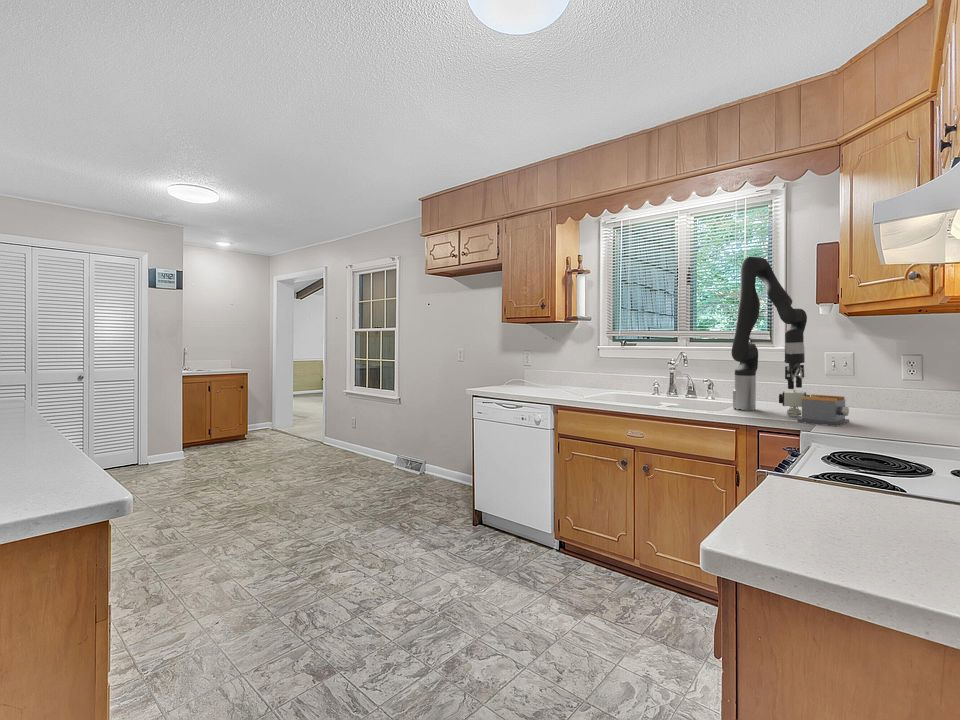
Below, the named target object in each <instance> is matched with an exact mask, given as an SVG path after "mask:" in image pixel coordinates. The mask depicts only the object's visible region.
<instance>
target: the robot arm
mask: <svg viewBox="0 0 960 720" xmlns="http://www.w3.org/2000/svg"><path fill="white" fill-rule="evenodd" d="M757 278H758V279H759V280H760V281H761V282H763V285H764V286H765V290H766V295H767V297H768V299H769V300H770V302H771V303H772V304H773V305H774V307H775V309H776V311H777V314H778V316H779V318H780V320H781V321H782V322H783V323H784V324H786V325H790V328H789V329H788V330H786V331H785V332H784V363H785V364H788V365H785V366H784V368H785V369H784V379H785V380H786V381H787V389H788V390H795V388H797V389H798V388H803V379H804V378H805V365H804V363H805V343H804V341H805V340H804V337H805V336H804V332H805V330H806V326H807V321H808V314H807V313H806V310H804V309H802V308H793V307H792V304H793V299H792V297H791V296H790V295H789V294H788V292H787V291H786V290H785V288H783V286H782V284H781V283H780V281H779V280H778V278H777V276H776V275H775V273H774V271H773V269H772V267H771V264H770V263H769V261H768V260H767V259H766V258H764V257H760V256H748V257H746V258H744V260H742V263H741V266H740V291H739V301H738V308H737V320H736V325H735V326H736V327H735V333H734V338H733V342H732V346H731V357H732V359H733V360H734V361H735V362H738V363H739V365H738V367H737V368H735V369H734V389H733V390H732V409H733V408H736V409H735V410H738V409H741V410H740V411H755V410H754V409H756V410H757V408H756V406H757V402H756V401H757V400H756V398H757V397H756V396H757V393H756V392H757V388H756V387H757V386H756V385H757V384H756V383H757V382H756V378H757V376H756V374H757V370H758V367H759V351H758V350H759V349H758V346H756V345H755V344H754V343H751V342H750V337H751V333H752V330H753V329H754V327H755V325H756V324H757V322H758V320H759V316H760V310H761V301H760V298H759V295H758V292H757V290H756V279H757Z"/></svg>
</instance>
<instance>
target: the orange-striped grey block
mask: <svg viewBox="0 0 960 720" xmlns="http://www.w3.org/2000/svg"><path fill="white" fill-rule="evenodd" d="M849 413H850V408H849V406H846V398H845V396H839V395H828V394H827V395H826V394H825V395H824V394H810V397H808V396H803V397H802V407H801V417H800V418H798V419H797V422H798V423H803V422H806V423H805V424H812V423H813V424H815V425H821V424H828V425H827V426H830V425H839V426H841V425H840V424H842V425H845V424H848V423H850V418H846V417H848V416H849ZM844 423H845V424H844Z"/></svg>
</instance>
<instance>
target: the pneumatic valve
mask: <svg viewBox="0 0 960 720" xmlns="http://www.w3.org/2000/svg"><path fill="white" fill-rule="evenodd" d="M803 396H808V397H811V394H807V392H806V391H797V390H796V389H792V391H782V393H779V394H778V404H782V407H789V408H788V409H787V410H786V413H787V416H789V417H793V416H796V418H798V417H800V416H802V409H799V408H802V397H803Z"/></svg>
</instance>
